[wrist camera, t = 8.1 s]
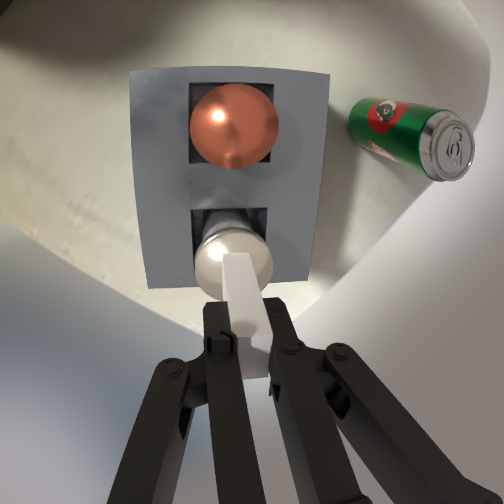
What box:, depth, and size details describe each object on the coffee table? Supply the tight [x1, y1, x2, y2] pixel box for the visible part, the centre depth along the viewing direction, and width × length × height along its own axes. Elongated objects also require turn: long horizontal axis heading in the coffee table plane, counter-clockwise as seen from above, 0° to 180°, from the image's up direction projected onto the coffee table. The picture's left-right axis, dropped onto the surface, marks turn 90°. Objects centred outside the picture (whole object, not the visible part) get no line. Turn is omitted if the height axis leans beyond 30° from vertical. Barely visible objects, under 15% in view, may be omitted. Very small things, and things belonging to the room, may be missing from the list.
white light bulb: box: [195, 208, 274, 301], centre depth 21 cm, size 5×5×8 cm
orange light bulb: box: [190, 84, 279, 169], centre depth 18 cm, size 5×5×8 cm
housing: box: [130, 66, 330, 289], centre depth 22 cm, size 15×12×8 cm
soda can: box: [349, 98, 475, 182], centre depth 21 cm, size 5×5×12 cm
